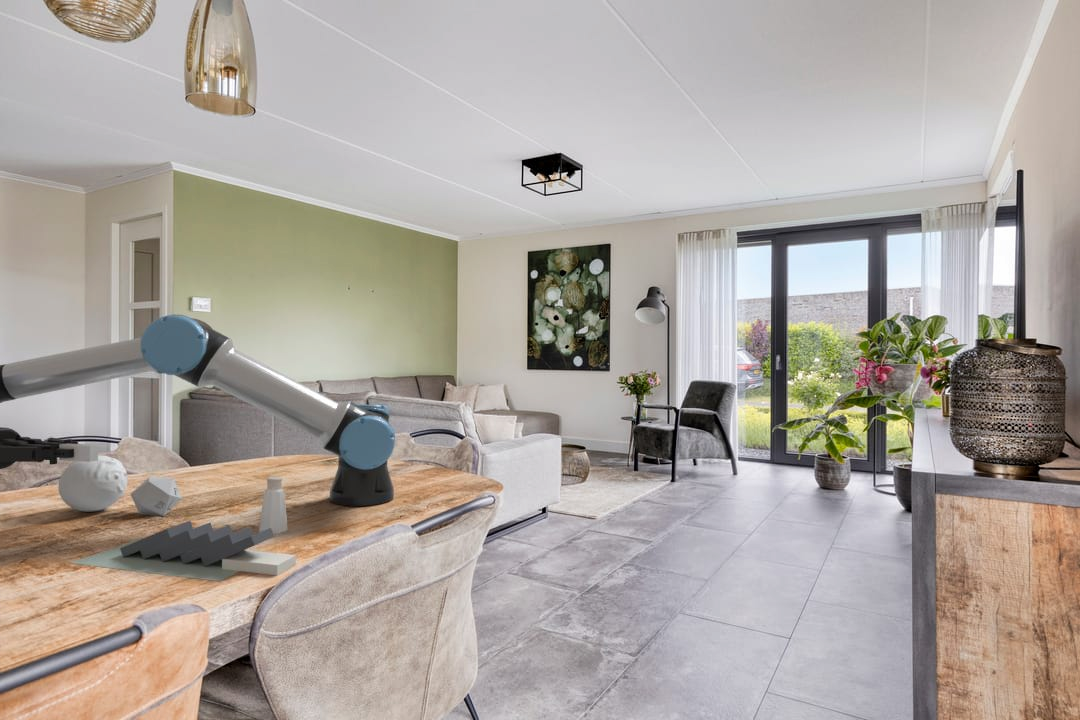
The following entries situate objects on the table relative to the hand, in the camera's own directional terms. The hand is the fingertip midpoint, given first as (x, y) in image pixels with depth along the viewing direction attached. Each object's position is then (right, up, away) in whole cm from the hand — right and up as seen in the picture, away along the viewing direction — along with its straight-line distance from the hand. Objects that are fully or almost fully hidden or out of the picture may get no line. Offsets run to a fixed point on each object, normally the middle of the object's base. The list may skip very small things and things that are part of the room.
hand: (93, 453), depth 106 cm
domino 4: (+19, -16, -4) cm, 26 cm away
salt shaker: (+25, -18, +14) cm, 34 cm away
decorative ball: (-19, -17, +26) cm, 36 cm away
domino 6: (+27, -17, -5) cm, 32 cm away
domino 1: (+8, -16, -1) cm, 18 cm away
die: (-5, -17, +25) cm, 31 cm away
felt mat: (+16, -18, -3) cm, 24 cm away
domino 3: (+15, -16, -3) cm, 23 cm away
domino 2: (+12, -16, -2) cm, 20 cm away
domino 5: (+23, -17, -4) cm, 29 cm away
